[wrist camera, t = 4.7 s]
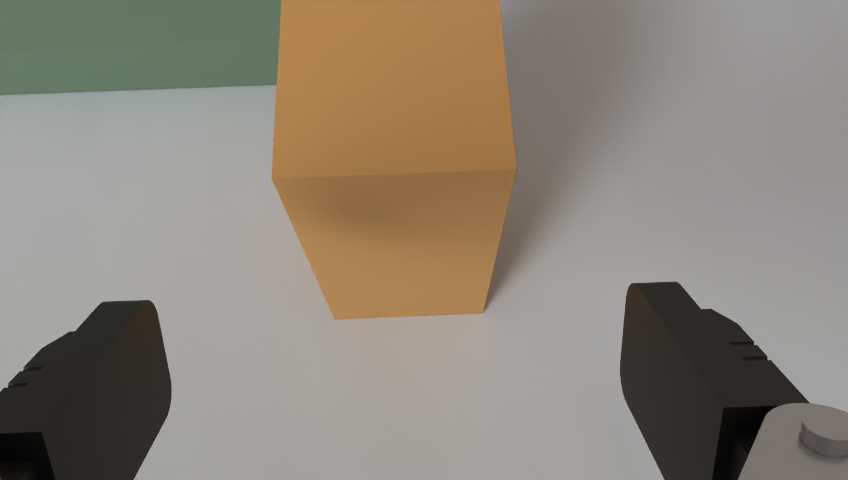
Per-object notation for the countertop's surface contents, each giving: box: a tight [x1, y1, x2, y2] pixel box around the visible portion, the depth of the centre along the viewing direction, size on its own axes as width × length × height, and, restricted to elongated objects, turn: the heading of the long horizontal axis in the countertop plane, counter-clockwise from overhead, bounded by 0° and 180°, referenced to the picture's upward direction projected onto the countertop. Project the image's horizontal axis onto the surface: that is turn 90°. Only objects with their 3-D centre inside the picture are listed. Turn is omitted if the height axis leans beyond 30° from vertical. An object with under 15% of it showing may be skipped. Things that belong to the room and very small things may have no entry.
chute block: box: [272, 0, 517, 319], centre depth 20 cm, size 5×5×10 cm
